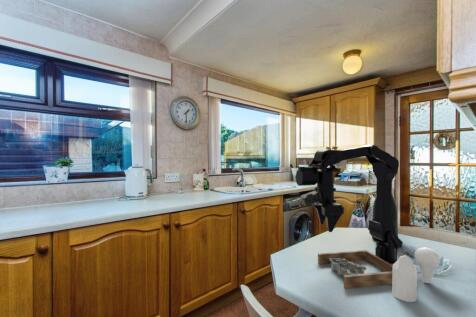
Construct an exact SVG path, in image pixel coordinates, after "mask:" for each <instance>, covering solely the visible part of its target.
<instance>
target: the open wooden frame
mask: <svg viewBox="0 0 476 317" xmlns="http://www.w3.org/2000/svg"><path fill="white" fill-rule="evenodd" d="M329 258H331V259H334V258H338V259H339V258H341V259H343V258H344V259H346V261H350V262H361V261H366V262H367V263H369V264H370V265H372V266H374V267H375V268H377V269H378V270H380V271H381V272H377V271H376V272H370V273H369V272H367V273H364V274H355V273H353V274H354V275H344V276H343V288H344V289H345V290H346V289H347V290H348V289H357V288H367V287H377V286H388V285H392V269H393V264H390V263H388V262H386V261H384V260H383V259H381V258H379V257H378V256H376V255H375V254H374V253H373V252H370V251H369V250H367V249H363V250H360V249H359V250H350V251H347V250H346V251H335V252H333V251H332V252H320V253H319V252H318V253H317V263H318V264H319V265H323V264H331V263H332V262H331V260H330V259H329Z"/></svg>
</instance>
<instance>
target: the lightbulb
mask: <svg viewBox="0 0 476 317" xmlns="http://www.w3.org/2000/svg"><path fill="white" fill-rule="evenodd" d="M414 259H415V261H416V263H417V264H418V266H419V269H420V271H419V272H420V274H421V281H422V282H424V283H426V284H431V283H433V277H434V272H435V270H436V268H438V266H440V265H439V264H440V262H441V259H440V256H439V254H438V253H437V251H435V250H434V249H432V248H429V247H425V246H423V247H419V248H418V249H416V250H415V252H414Z"/></svg>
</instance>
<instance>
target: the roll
mask: <svg viewBox="0 0 476 317" xmlns="http://www.w3.org/2000/svg"><path fill="white" fill-rule="evenodd" d="M392 265H393V269H392V284H391V285H392V286H391V288H392V289H391V292H392V296H393V297H394V298H396V299H397V300H400V301H404V302H407V303H413V302H416V301H417V299H418V298H417V297H418V296H417V294H418V293H417V292H418V271H417V269H416V266H415V264H414V262H413V261H412V259H411V258H410V256H408V255H406V254H404V255H399V257H398V258H397V261H396V262H395V263H394V264H392Z"/></svg>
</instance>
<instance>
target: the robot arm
mask: <svg viewBox="0 0 476 317" xmlns="http://www.w3.org/2000/svg"><path fill="white" fill-rule="evenodd" d="M363 157H365V159H366V161H367V162H368V163H369V164H370V165H371V166H372V172H373V174H374V176H375V178H376V186H375V187H376V188H375V189H376V192H375V198H376V210H375V217H374V218H373V220H372V219H368V228H367V231H369V235H370V236H371V239H372V241H374V242H376V243H375V244H376V246H375V254H374V255H376V256H378V257H379V258H381V259H383V260H384V261H386V262H388V263H390V264H391V265H393V264H394V263H395V262H396V261H397V260H398V249H401V248H402V246H403V241H402V240H401V239H400V237H399V236H398V237H397V236H396V232H395V226H394V224H393V222H392V220H391V196H392V195H393V192H392V191H393V180H394V178H396V176H397V174H398V173H399V172H398V171H399V167H400V162H399V160H398V159H397V157H395V156H393V155H392V154H390V153H388V152H386V151H384V150H382V149H381V148H379V147H378V146H377V145H376V144H366V145H363V146H358V147H353V148H352V147H351V148H345V149H320V150H319V149H318V150H316V151H315V154H314V156H313V158H312V160H311V161H310V163H309V164H308V166H297V170H296V173H295V183H296V184H297V186H299V187H303V186H315V185H316V186H315V187H314V190H313V191H310V192H307V193H304V194H302V195H300V198H301V201H302V204H303V205H304V206H305V207H308V206H310V205H312V206H313V208H315V209H316V213H317V216H318V220H319V224H320V225H324V224H325V222H326V224H327V225H326V226H327V229H328V233H333V231H334V229H335V227H336V225H337V224H338V221H339V220H340V218H341V217H342V216H343V215H344V214H345V207H344V206H343V205H342V204H340V203H338V202H337V199H335V192H336V191H337V188H336V187H335V184H334V183H335V179H334V178H335V175H334V173H339V172H340V169H339V168H338V167H336V165H337V164H339V163H341V162H343V161H346V160H351V159H357V158H363ZM325 220H326V221H325Z"/></svg>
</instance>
